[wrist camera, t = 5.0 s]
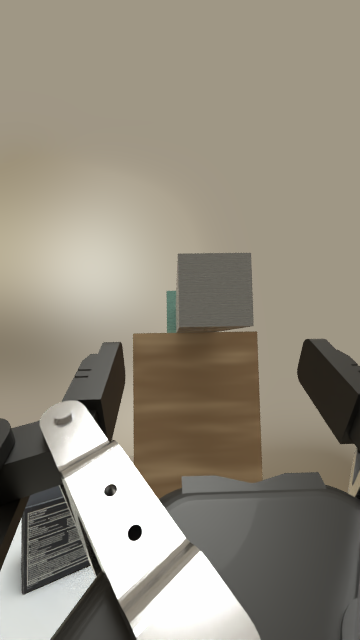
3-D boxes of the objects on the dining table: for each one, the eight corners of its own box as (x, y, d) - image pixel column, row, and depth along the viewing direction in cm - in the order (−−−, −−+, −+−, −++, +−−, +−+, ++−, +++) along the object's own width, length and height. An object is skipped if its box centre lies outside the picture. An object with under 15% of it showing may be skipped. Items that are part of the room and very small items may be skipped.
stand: (273, 769, 20) (257, 331, 22) (135, 776, 20) (133, 333, 22) (232, 591, 34) (224, 334, 36) (151, 594, 34) (149, 335, 36)
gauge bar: (290, 325, 11) (284, 205, 11) (154, 327, 11) (152, 206, 11) (208, 334, 37) (207, 298, 37) (168, 335, 37) (167, 298, 37)
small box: (94, 532, 45) (95, 466, 45) (106, 559, 39) (106, 484, 40) (20, 560, 39) (21, 485, 40) (21, 596, 34) (23, 508, 34)
